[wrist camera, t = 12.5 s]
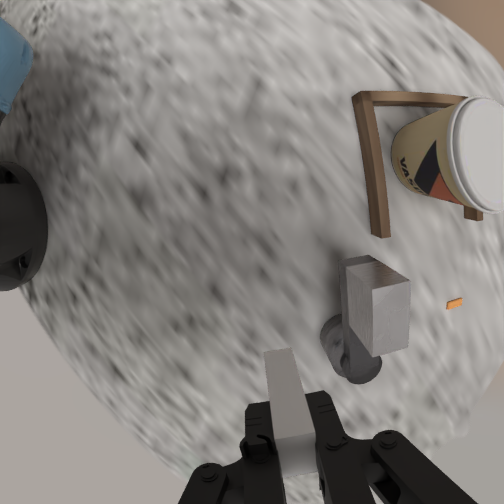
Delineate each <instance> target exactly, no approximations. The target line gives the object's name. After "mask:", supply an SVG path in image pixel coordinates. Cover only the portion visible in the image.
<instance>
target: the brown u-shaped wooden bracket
mask: <svg viewBox="0 0 504 504" xmlns="http://www.w3.org/2000/svg"><path fill="white" fill-rule="evenodd" d="M466 98H468V97H465V96H456V95H447V94H436V93H422V92H402V91H360V92H358V93H357V94H356V95H354V96H353V97H352V102H353V107H354V112H355V117H356V122H357V128H358V133H359V139H360V145H361V151H362V157H363V164H364V171H365V178H366V186H367V194H368V203H369V213H370V223H371V234H372V235H375V236H377V237H379V238H387V237H391V233H390V220H389V208H388V198H387V189H386V181H385V173H384V165H383V158H382V152H381V146H380V139H379V134H378V128H377V123H376V117H375V112H374V107H373V106H421V107H441V108H447V107H449V106H452V105H454V104H457V103H460V102H461V101H462V100H464V99H466ZM464 218H466V219H470V220H475V221H481V220H483V212H481V211H479V210H477V209H475V208H472V207H468V206H464Z"/></svg>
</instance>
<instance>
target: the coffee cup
mask: <svg viewBox="0 0 504 504" xmlns="http://www.w3.org/2000/svg"><path fill="white" fill-rule="evenodd" d="M391 159H392V165H393V168H394V171H395V173H396V175H397V177H398V178H399V180H400V181H401V182H402V184H403V185H404V186H406V187H407V188H408V189H409V190H411V191H413V192H416V193H419V194H422V195H426V196H430V197H434V198H437V199H441V200H445V201H449V202H453V203H456V204H460V205H464V206H468V207H472V208H475V209H477V210H479V211H481V212H484V213H488V214H496V213H500V212H502V211H504V107H503V106H502V105H501V104H499V103H498V102H496V101H494V100H492V99H489V98H487V97H484V96H471V97H468V98H466V99H464V100H462V101H461V102H460V103H457V104H454V105H452V106H449V107H447V108H444V109H442V110H439V111H437V112H435V113H432V114H430V115H428V116H425V117H423V118H421V119H419V120H416V121H414V122H412V123H410V124H408V125H406V126H404V127H403V128H402V129H401V130H400V131H399V132H398V133H397V135H396V136H395V138H394V141H393V144H392V150H391Z"/></svg>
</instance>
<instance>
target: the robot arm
mask: <svg viewBox="0 0 504 504" xmlns="http://www.w3.org/2000/svg"><path fill="white" fill-rule="evenodd" d="M32 63H33V50H32V47H31V46H30V44H29V42H28V41H27V40H26V39H25V38H24V37H23V36H22V35H21V34H20V33H18V32H17V31H16V30H15V29H14V28H13V27H12V26H11V25H9V24H8V23H7V22H6V21H5V20H4V19H2V18H1V17H0V125H1V123H2V121H3V119H4V117H5V115H6V114H8V113H9V112H10V111H11V109H12V107H11V104H12V102H13V100H14V98H15V96H16V94H17V92H18V91H19V89H20V87H21V85H22V83H23V82H24V80H25V78H26V76H27V75H28V73H29V71H30V69H31V66H32ZM46 243H47V218H46V211H45V206H44V202H43V199H42V196H41V193H40V191H39V189H38V187H37V185H36V183H35V181H34V180H33V178H32V177H31V176H30V174H29V173H28V172H27V171H26V170H25V169H24V168H22V167H21V166H19V165H17V164H14V163H10V162H0V291H9V290H12V289H15V288H17V287H19V286H21V285H22V284H24V283H26V282H28V281H29V280H30V279H31V278H32V277H33V276H34V275H35V274H36V272H37V271H38V269H39V267H40V265H41V263H42V260H43V257H44V254H45V249H46ZM264 360H265V368H266V376H267V384H268V392H269V400H270V401H267V402H260V403H253V404H249V405H248V407H247V409H246V410H245V437H244V438H243V439H242V441H241V442H240V446H239V447H240V450H241V453H242V456H243V457H242V458H241V459H240V460H238V461H237V462H235V463H232V464H230V465H227V466H224V467H222V466H221V465H220V464H216V463H206V464H203V465H200V466H199V467H197V468H196V469H195V470H194V472H193V473H192V475H191V477H190V480H189V482H188V484H187V486H186V488H185V490H184V492H183V494H182V496H181V498H180V500H179V503H178V504H287V503H286V496H285V489H284V483H283V478H285V477H292V476H297V475H303V474H308V473H313V472H318V473H319V486H320V490H322V495H323V499H324V503H325V504H376V503H375V500H374V498H373V495H372V492H371V490H370V487H371V488H372V489H373V491H374V492H375V493H376V494H377V496H378V497H379V498H380V499H381V500H382V502H383V503H384V504H478V503H477V502H475V501H474V500H473V499H472V498H471V497H470V496H469V495H468V494H466V493H465V492H464V491H463V490H462V489H461V488H460V487H459V486H458V485H456V484H455V483H454V482H453V481H452V480H451V479H450V478H449V477H448V476H447V475H445V474H444V473H443V472H442V471H441V470H440V469H439V468H438V467H437V466H435V465H434V464H433V463H432V462H431V461H430V460H429V459H428V458H427V457H426V456H425V455H424V454H423V453H422V452H420V451H419V450H418V449H417V448H416V447H415V446H414V445H413V444H412V443H411V442H410V441H409V440H408V439H407V438H406V437H404V436H403V435H402V434H401V433H399V432H398V431H394V430H385V431H382V432H379V433H378V434H376V435H375V436H374V438H373V439H367V440H360V439H354V438H351V437H350V436H348V435H347V434H346V433H345V431H344V429H343V427H342V424H341V422H340V419H339V416H338V414H337V411H336V409H335V406H334V404H333V401H332V399H331V396H330V395H329V394H328V393H326V392H325V391H324V390H323V391H318V392H313V393H308V394H304V390H303V387H302V383H301V380H300V376H299V373H298V369H297V366H296V362H295V359H294V355H293V352H292V349H291V348H285V349H280V350H274V351H268V352H264ZM369 486H370V487H369Z"/></svg>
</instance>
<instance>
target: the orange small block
mask: <svg viewBox="0 0 504 504" xmlns="http://www.w3.org/2000/svg"><path fill="white" fill-rule="evenodd" d="M461 305H462V298H459V299H456V300H453V301H450V302H447V309H448V310H449V309H452V308H455V307H458V306H461Z"/></svg>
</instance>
